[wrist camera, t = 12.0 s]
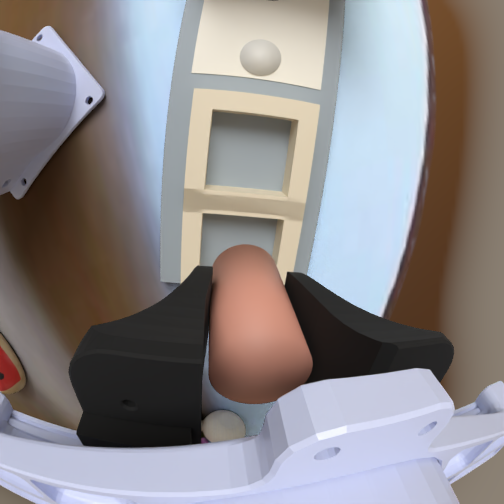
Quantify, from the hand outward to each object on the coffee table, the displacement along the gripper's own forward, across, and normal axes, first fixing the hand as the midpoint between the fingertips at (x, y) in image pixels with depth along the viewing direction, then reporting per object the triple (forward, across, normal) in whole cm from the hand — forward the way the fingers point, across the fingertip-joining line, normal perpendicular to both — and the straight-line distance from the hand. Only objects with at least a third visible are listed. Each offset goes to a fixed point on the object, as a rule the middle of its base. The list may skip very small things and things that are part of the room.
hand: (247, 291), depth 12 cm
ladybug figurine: (+7, +24, +14) cm, 29 cm away
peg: (+2, 0, 0) cm, 2 cm away
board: (+7, 0, -11) cm, 13 cm away
